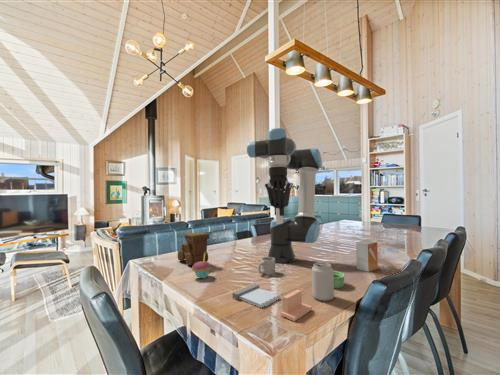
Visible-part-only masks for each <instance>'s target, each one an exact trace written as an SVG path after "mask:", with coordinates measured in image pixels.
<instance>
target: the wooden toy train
mask: <svg viewBox="0 0 500 375" xmlns="http://www.w3.org/2000/svg"><path fill="white" fill-rule="evenodd" d="M183 236H184V237H183V238H184V240H185V241H186V242H183V243H181V249H179V250H177V260H178V261H179V260H180V261H183V262H184V261H185V263H186V265H187V264H188V265H192V266H193V265H194V264H195V263H196V262H200V261H203V258H204V253H205V261H206V262H208V261H209V253H208V252H207V249H208V240H210V234H209V233H207V232H202V231H201V232H198V231H197V232H185V234H184V235H183ZM180 261H179V262H180ZM188 265H187V266H188Z"/></svg>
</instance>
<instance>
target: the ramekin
mask: <svg viewBox="0 0 500 375" xmlns="http://www.w3.org/2000/svg"><path fill="white" fill-rule="evenodd" d="M333 276H334V289H340V288H341V289H342V288H343V287H344V283H345V276H346V275H345V274H344V273H343V272H340V271H336V270H333Z"/></svg>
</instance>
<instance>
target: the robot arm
mask: <svg viewBox="0 0 500 375" xmlns="http://www.w3.org/2000/svg"><path fill="white" fill-rule="evenodd" d="M286 131H287V130H286V129H285V128H282V127H281V128H280V127H277V128H276V127H275V128H271V129H269V130H268V131H267V139H265V140H253V141H250V142H248V144H246V145H247V146H246V153H247V156H248V157H249V158H260V159H263V160H266V161H268V166H269V168H268V175H269V182H267V183H265V184H264V186H265V188H266V192H267V196H268V201H269V205H270V206H271V207H273V209H274V216H275V219H272V220H271V221H270V227H269V230H270V247H269V251H268V254H267V257H273V258H275V264H276V263H278V264H287V263H293V262H295V261H296V255H295V253H294V250H293V246H292V245H293V244H292V243H305V244H314V243H316V242H317V241H318V238H319V234H320V222H319V221H318V220H317V217H316V216H315V200H316V199H315V197H316V192H315V191H316V176H317V174H318V173H319V169H321V168H322V167H323V162H322V155H321V152H320V150H319V149H318V148H304V149H296V148H297V145H296V142H295V141H294V140H293V139H291V138H289V137H287V132H286ZM288 170H297V171H298V173H299V177H300V178H299V188H298V189H299V192H298V206H297V209H298V210H297V214H296V215H295V216H294V220H292V218H291V217H284V216H285V208H286V207H289V204H290V203H289V202H290V197H291V190H292V187H293V186H294V184H293V183H292V182H290V181H288V180H289V179H288V177H287V176H288Z"/></svg>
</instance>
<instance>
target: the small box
mask: <svg viewBox="0 0 500 375" xmlns="http://www.w3.org/2000/svg"><path fill="white" fill-rule="evenodd" d="M355 244H356V246H355V249H356V251H355V253H356V270H361V271H364V272H366V273H367V272H368V273H369V272H372V271H375V270H378V265H379V264H378V259H379V258H378V242H377V241H374V240H373V241H372V240H361V241H356V242H355Z"/></svg>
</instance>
